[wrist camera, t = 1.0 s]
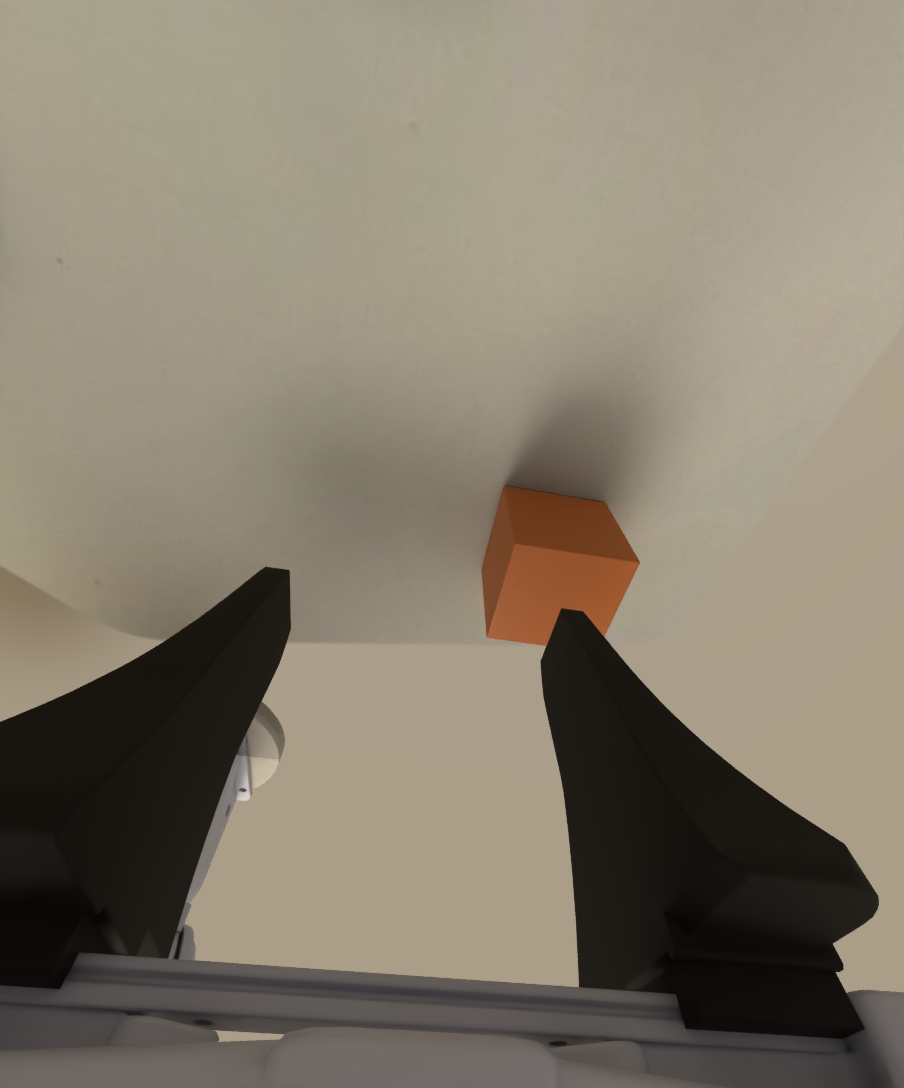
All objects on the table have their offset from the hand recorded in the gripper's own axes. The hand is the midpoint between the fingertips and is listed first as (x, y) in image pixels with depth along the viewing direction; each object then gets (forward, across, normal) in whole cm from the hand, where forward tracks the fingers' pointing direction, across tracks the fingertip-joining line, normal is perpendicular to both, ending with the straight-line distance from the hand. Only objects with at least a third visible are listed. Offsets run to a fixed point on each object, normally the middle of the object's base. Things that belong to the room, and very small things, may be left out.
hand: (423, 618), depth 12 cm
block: (+8, -5, +2) cm, 10 cm away
